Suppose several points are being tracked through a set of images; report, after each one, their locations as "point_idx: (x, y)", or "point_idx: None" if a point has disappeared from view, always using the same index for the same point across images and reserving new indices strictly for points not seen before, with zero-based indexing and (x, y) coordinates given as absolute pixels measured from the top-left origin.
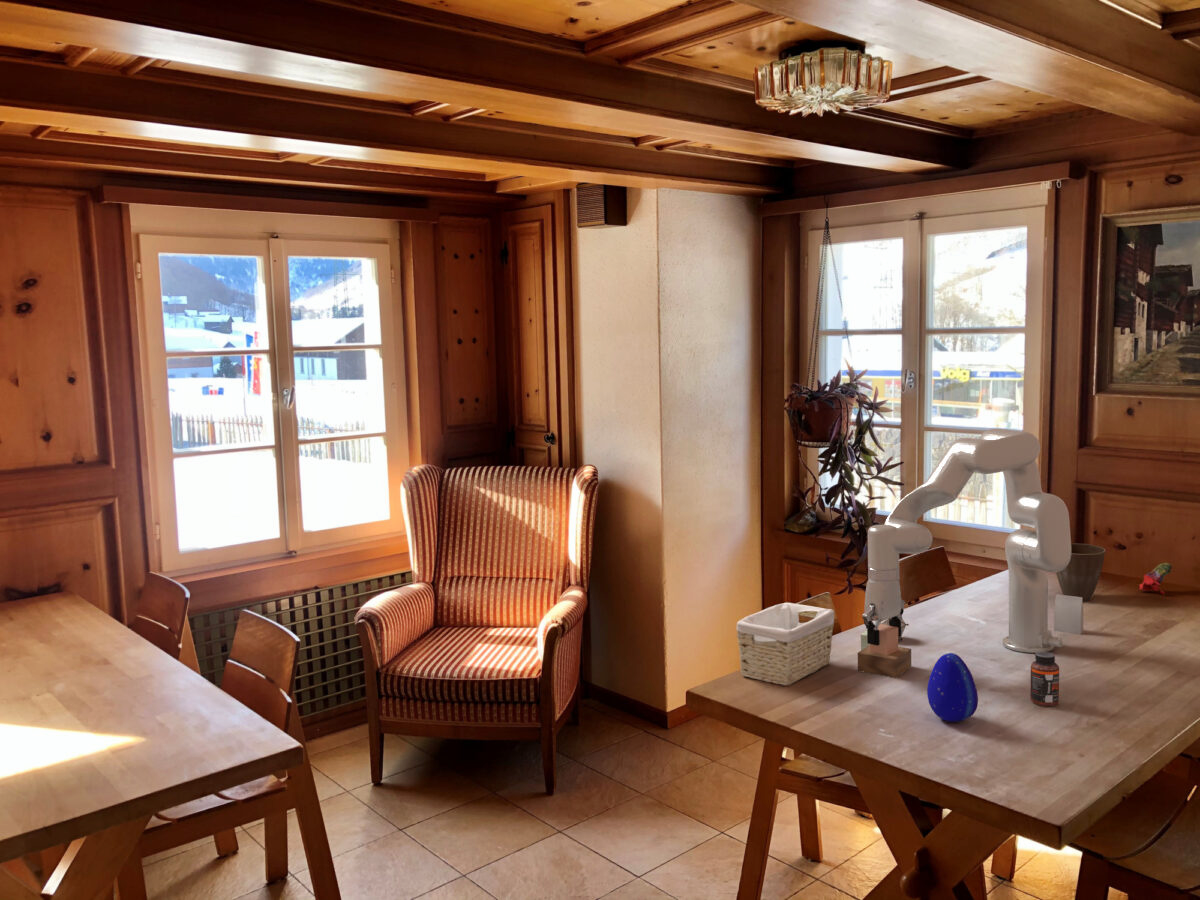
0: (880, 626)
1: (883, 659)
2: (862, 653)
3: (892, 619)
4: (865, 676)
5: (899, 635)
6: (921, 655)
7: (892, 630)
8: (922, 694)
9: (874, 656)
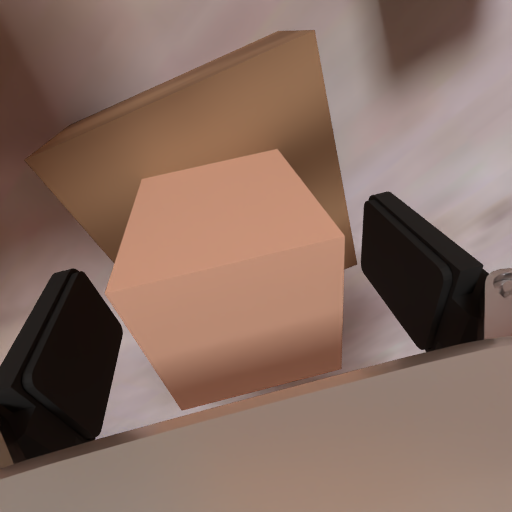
0: (256, 300)
1: None
2: (55, 191)
3: (455, 311)
4: (65, 210)
5: (366, 273)
6: (476, 141)
7: (259, 385)
8: (155, 384)
9: (112, 256)
